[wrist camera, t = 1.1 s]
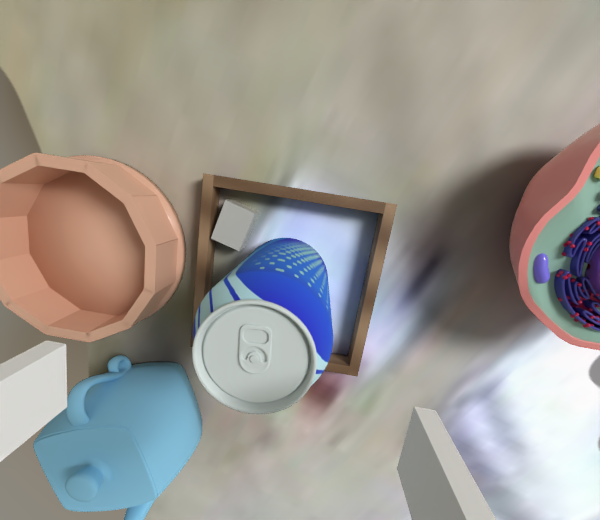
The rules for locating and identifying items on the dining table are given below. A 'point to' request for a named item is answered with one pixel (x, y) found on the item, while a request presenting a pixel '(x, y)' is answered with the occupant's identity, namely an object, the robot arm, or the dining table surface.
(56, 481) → the teapot
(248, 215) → the stone
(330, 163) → the dining table surface
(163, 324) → the dining table surface
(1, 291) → the dish
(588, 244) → the cell model
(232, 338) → the beer can
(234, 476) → the dining table surface
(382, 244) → the tray
